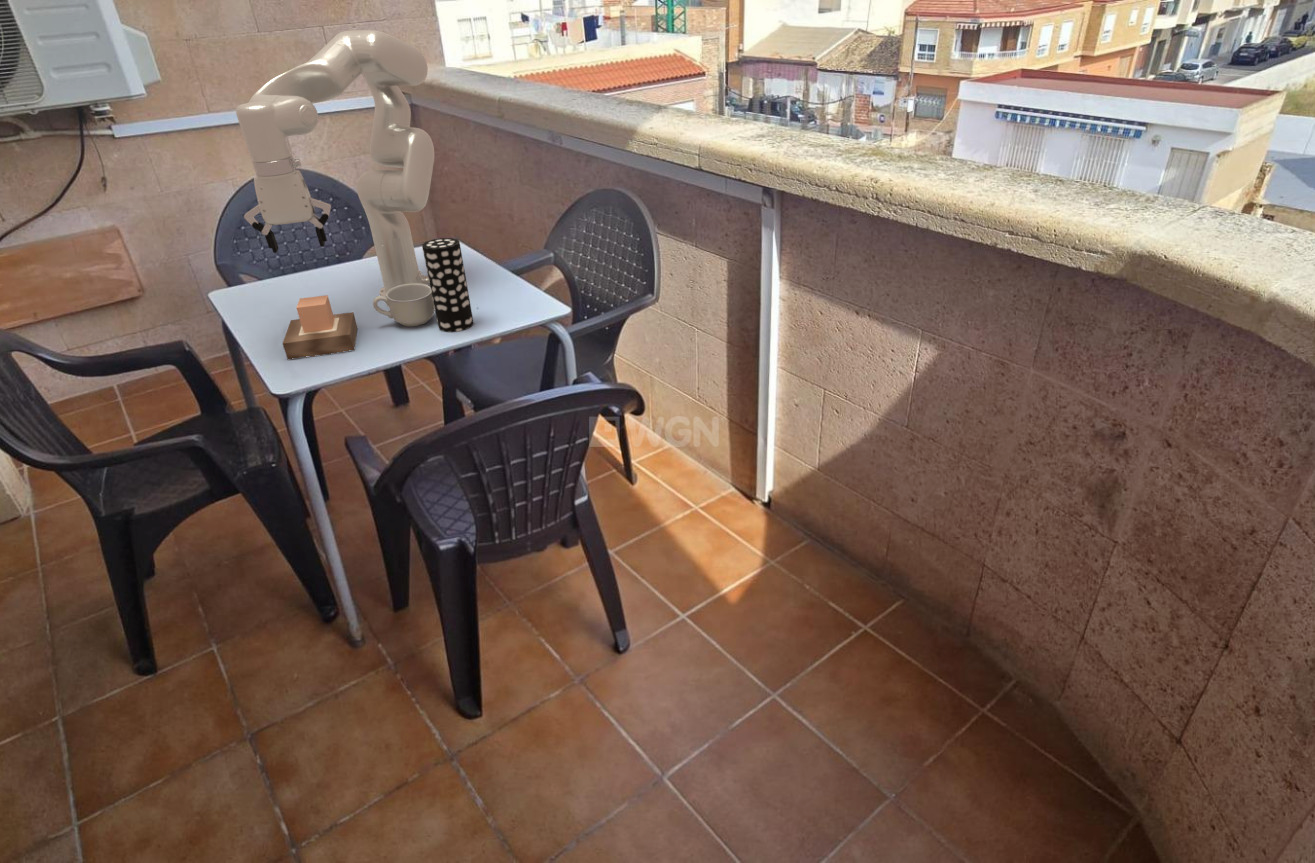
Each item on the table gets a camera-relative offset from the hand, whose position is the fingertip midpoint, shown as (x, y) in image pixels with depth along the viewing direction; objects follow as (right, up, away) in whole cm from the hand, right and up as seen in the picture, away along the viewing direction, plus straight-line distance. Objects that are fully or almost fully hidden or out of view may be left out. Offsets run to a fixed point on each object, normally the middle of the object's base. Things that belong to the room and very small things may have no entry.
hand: (299, 247), depth 160 cm
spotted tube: (+30, -15, +16) cm, 37 cm away
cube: (+1, -16, +7) cm, 18 cm away
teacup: (+18, -14, +18) cm, 29 cm away
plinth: (+1, -20, +9) cm, 22 cm away
